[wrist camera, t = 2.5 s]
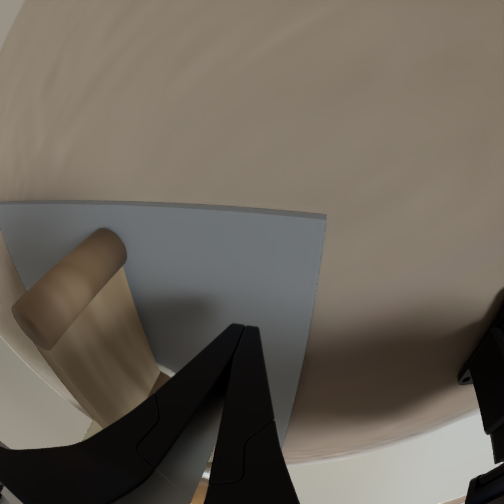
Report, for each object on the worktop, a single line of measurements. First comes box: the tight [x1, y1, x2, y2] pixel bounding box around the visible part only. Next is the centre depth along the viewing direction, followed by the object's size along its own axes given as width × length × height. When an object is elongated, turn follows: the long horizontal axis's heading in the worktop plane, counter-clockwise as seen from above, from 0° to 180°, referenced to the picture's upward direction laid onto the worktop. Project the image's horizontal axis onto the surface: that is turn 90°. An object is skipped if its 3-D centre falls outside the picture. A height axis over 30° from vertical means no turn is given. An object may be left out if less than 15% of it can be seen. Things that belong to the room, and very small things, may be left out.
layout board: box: [0, 201, 326, 450], centre depth 16 cm, size 18×22×1 cm
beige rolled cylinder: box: [12, 228, 160, 429], centre depth 10 cm, size 2×9×5 cm, turn 0°
